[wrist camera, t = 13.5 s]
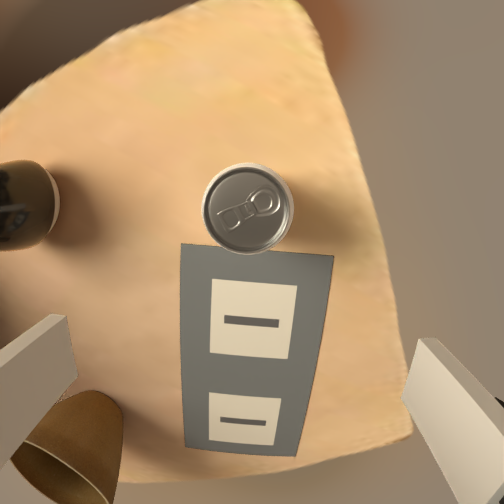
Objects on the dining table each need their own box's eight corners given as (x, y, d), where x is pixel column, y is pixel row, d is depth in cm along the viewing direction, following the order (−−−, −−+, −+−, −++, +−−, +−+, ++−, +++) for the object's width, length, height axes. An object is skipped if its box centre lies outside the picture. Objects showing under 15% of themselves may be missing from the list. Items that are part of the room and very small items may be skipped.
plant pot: (45, 369, 38) (-15, 429, 23) (122, 366, 37) (65, 447, 21) (85, 442, 41) (46, 506, 26) (161, 446, 40) (132, 527, 24)
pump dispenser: (51, 142, 31) (-41, 133, 17) (85, 213, 33) (-7, 236, 18) (6, 190, 33) (-79, 201, 18) (36, 256, 34) (-48, 291, 20)
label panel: (185, 446, 40) (185, 447, 39) (181, 243, 33) (180, 243, 33) (295, 456, 39) (295, 456, 39) (333, 255, 33) (333, 256, 33)
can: (296, 215, 32) (314, 231, 20) (240, 245, 33) (226, 277, 21) (266, 159, 31) (266, 142, 19) (210, 189, 32) (178, 191, 20)
